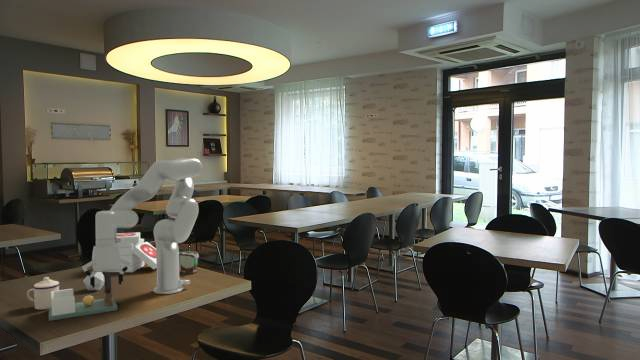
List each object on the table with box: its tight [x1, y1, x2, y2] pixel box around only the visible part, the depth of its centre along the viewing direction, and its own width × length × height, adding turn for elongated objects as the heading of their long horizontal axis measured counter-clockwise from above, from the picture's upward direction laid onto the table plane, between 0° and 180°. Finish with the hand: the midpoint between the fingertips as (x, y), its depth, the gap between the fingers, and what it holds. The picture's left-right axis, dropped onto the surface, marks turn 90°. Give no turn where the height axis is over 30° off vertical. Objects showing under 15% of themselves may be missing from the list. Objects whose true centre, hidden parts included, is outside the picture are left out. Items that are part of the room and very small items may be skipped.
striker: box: [103, 273, 113, 306], centre depth 185 cm, size 2×10×11 cm, turn 30°
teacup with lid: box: [26, 276, 61, 311], centre depth 186 cm, size 12×9×12 cm
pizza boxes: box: [104, 231, 157, 273], centre depth 249 cm, size 19×30×18 cm, turn 87°
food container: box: [179, 250, 200, 274], centre depth 242 cm, size 12×6×10 cm, turn 58°
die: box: [82, 271, 105, 291], centre depth 209 cm, size 8×9×10 cm
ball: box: [82, 294, 95, 306], centre depth 182 cm, size 4×4×4 cm
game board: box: [48, 288, 118, 322], centre depth 181 cm, size 23×14×8 cm, turn 120°
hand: (106, 285), depth 185 cm, fingers open, 9 cm apart
